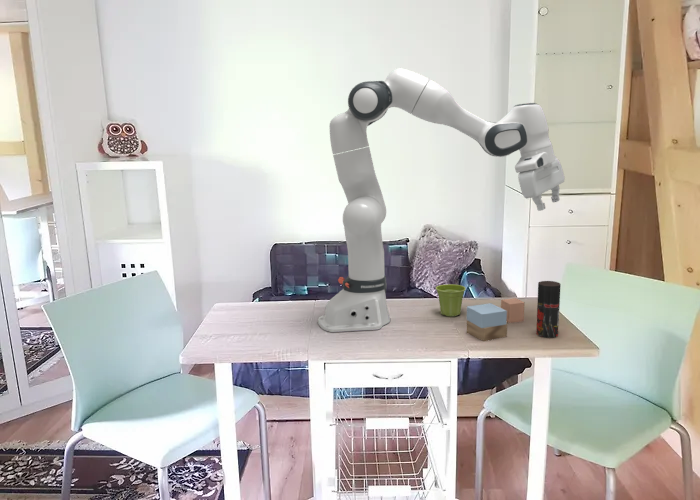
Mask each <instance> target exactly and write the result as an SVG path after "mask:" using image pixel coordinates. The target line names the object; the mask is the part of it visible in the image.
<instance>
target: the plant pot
mask: <svg viewBox="0 0 700 500" xmlns="http://www.w3.org/2000/svg"><path fill="white" fill-rule="evenodd" d="M466 289H467V288H466V287H465V286H464V285H462V284H461V285H460V284H454V283H453V284H452V283H451V284H448V283H447V284H440V285H437V286H435V290H436V293H437V295H438V300H439V302H438V303H439V310H440V314H441V315H442V316H446V317H456V316H458V315H459V316H460V315H461V311H462V304H463V303H462V302H463V299H464V294H465V291H466Z"/></svg>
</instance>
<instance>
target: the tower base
mask: <svg viewBox="0 0 700 500" xmlns="http://www.w3.org/2000/svg"><path fill="white" fill-rule="evenodd" d="M466 334H468V335H470V336H472V337H474V338H476V339H479V340H480V341H482V342H488V340H489V341H491V340H492V339H493V340H496V339H501V338H502V339H503V338H505V337H508V323H506V325H500V326H493V327H486V328H480V327H479V326H477V325H475V324H473V323H471V322H470V321H468V320H467V319H466Z"/></svg>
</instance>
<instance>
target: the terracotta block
mask: <svg viewBox="0 0 700 500" xmlns="http://www.w3.org/2000/svg"><path fill="white" fill-rule="evenodd" d="M500 308H502V309H504V310H506V311H507V319H506V323H507V324H508V323H509V324H513V323H521V322H524V321H525V301H522V300H520V299H518V298H515V297H512V298H507V299H501V301H500Z"/></svg>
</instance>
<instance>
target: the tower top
mask: <svg viewBox="0 0 700 500" xmlns="http://www.w3.org/2000/svg"><path fill="white" fill-rule="evenodd" d="M506 319H507V311H506V310H504V309H502V308H501V306H497V305H495V304H493V303H490V302H489V303H484V304H483V303H481V304H476V305H467V306H466V321H467V320H468V321H470V322H471V323H473V324H475V325H477V326H479V327H480V328H486V327H493V326H500V325H506V324H507V321H506Z"/></svg>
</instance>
